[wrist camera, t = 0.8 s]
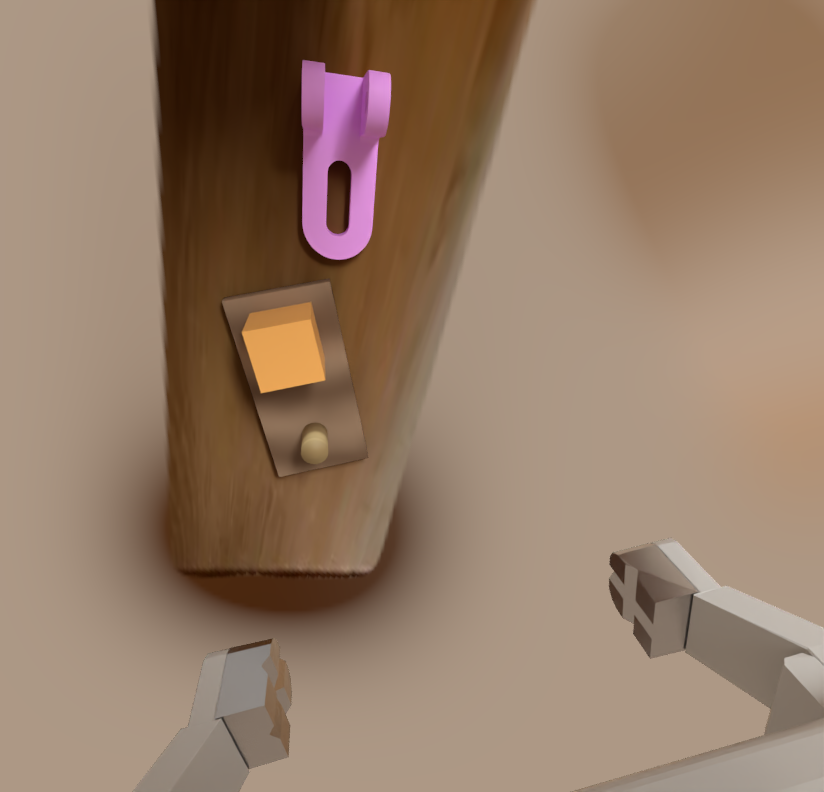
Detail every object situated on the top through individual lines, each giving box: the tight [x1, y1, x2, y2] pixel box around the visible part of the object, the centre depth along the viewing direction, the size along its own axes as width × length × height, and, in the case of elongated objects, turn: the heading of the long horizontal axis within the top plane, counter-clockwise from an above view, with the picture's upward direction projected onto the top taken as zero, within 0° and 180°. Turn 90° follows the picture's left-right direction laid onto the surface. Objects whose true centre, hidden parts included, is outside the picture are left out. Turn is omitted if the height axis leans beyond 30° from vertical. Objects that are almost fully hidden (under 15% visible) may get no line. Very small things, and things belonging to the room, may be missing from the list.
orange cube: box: [242, 302, 326, 393], centre depth 41 cm, size 5×5×5 cm
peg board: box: [222, 279, 368, 477], centre depth 44 cm, size 18×9×5 cm, turn 8°
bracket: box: [302, 60, 391, 260], centre depth 36 cm, size 13×6×7 cm, turn 174°
